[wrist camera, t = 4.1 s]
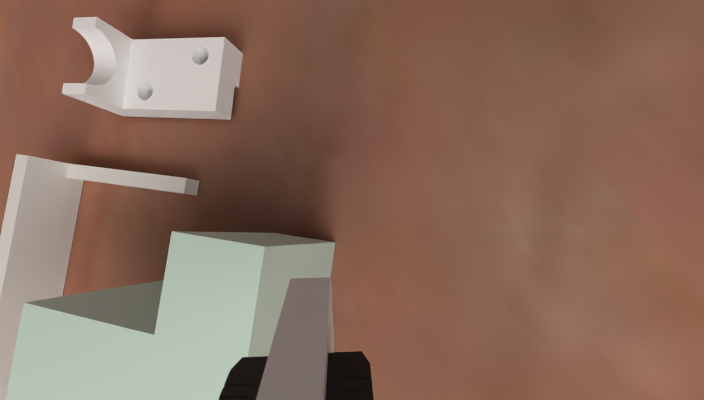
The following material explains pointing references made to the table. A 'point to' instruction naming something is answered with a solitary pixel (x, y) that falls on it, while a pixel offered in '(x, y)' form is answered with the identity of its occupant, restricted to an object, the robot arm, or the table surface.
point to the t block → (165, 322)
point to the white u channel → (49, 234)
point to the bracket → (158, 74)
